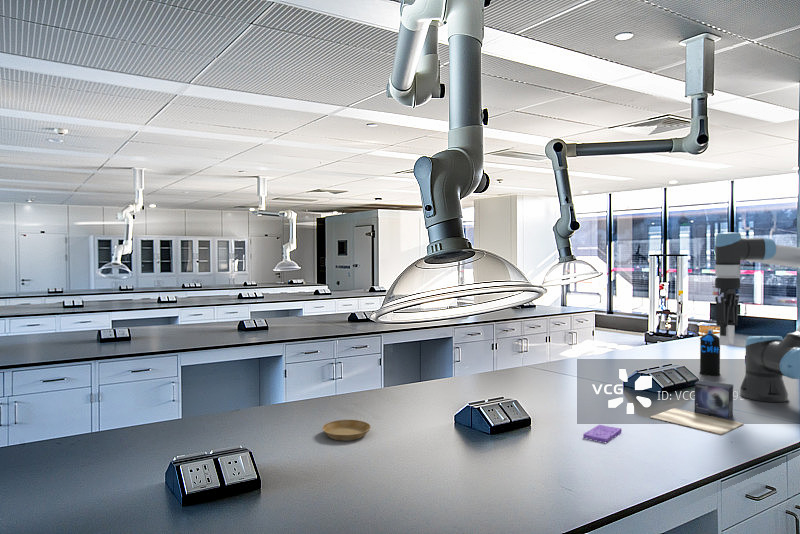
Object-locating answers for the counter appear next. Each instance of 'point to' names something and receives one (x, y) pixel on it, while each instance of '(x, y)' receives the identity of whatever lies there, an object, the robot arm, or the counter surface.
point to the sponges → (602, 433)
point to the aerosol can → (710, 354)
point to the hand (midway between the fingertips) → (726, 344)
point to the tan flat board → (698, 421)
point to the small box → (714, 399)
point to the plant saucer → (346, 429)
